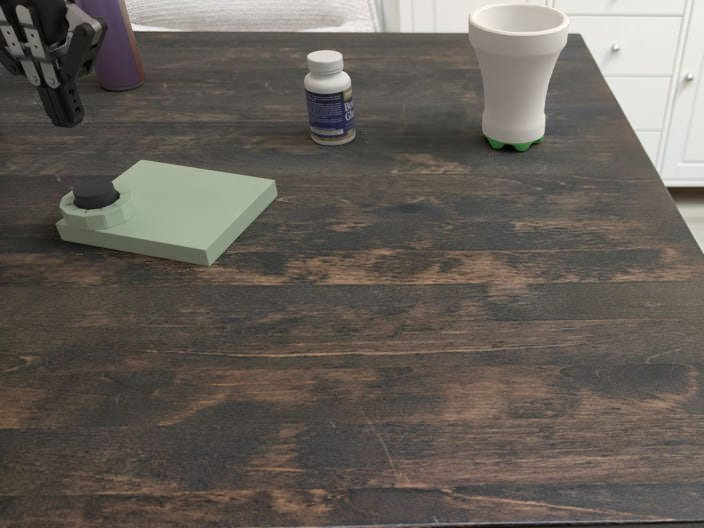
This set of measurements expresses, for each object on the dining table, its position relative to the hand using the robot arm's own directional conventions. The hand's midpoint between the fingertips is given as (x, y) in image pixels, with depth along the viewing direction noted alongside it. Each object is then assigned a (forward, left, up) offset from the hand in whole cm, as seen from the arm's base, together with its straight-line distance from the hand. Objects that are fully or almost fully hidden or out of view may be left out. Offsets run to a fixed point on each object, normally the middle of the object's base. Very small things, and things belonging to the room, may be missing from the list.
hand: (69, 123), depth 67 cm
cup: (+34, +32, -11) cm, 48 cm away
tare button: (0, 0, -8) cm, 8 cm away
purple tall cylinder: (-21, +33, -11) cm, 41 cm away
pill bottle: (+13, +26, -11) cm, 31 cm away
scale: (+5, +4, -11) cm, 13 cm away
